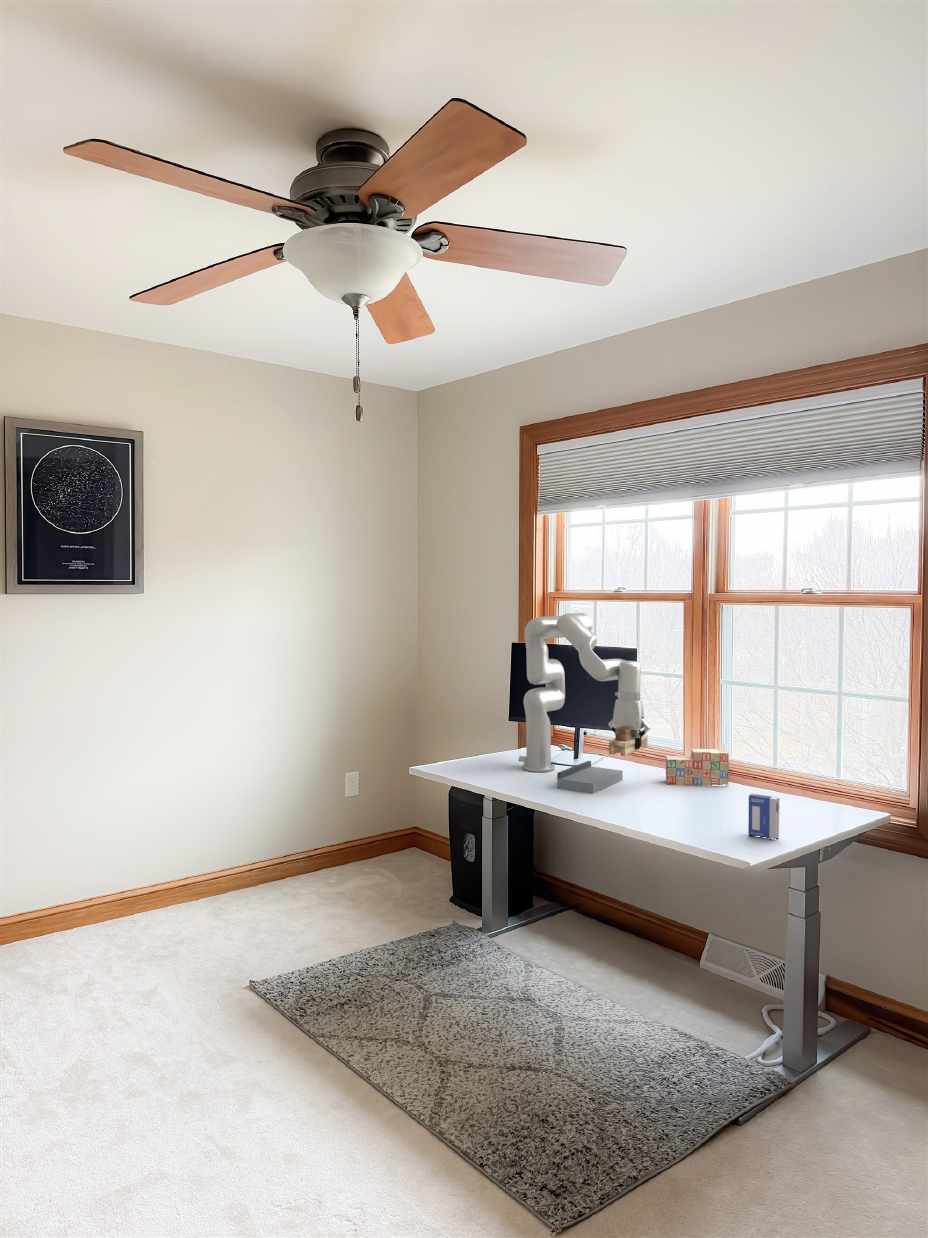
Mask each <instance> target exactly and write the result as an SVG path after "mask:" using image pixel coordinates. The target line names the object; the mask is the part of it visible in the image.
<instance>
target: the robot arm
mask: <svg viewBox="0 0 928 1238" xmlns="http://www.w3.org/2000/svg"><path fill="white" fill-rule="evenodd" d="M592 630H593V620H592V619H591V617H590V616H589V615H588V614H586V613H583V612H575V613H574V612H573V613H572V612H569V613H564V614H563V615H554V616H553V615H551V616H547V615H546V616H538V617H535V618H532V619H531V620H529V621H528V622H527V624H526V625H525V628H524V643H525V648H526V677H527V681H528V682H529V683H530V684H531V685H535V686H537V685H545V687H536V688H532V689H529V690H528V691H526V692H525V694H524V697H523V706H524V707H523V708H524V713H525V726H526V727H525V730H526V731H525V734H526V736H525V737H526V739H525V741H526V743H525V744H526V745H525V746H526V747H525V748H526V749H525V751H526V754H525V755H526V756H524V755H519V756H518V762H521V763H522V762H523V764H522V770H525V771H527V772H534V773H544V772H551V771H554V770H555V768H556V766H555V765H554V764H552V759H551V758H552V755H551V754H552V751H551V750H552V741H551V739H552V733H551V732H552V731H551V729H552V727H551V721H550V720H551V719H550V717H549V715H548V714H547V713H548V712H552V711H557V710H560V709H562V708H563V706H564V704H565V701H566V700H565V699H566V685H565V684H566V682H565V679H566V677H565V670H564V666H563V665H562V663H561V662H560V660H558V659H554V658H549V648H548V645H547V643H546V640H545V639H558V638H559V639H560V638H565V639H566V640H567V641H568V642H569V643H570V644H571V645H572V646H573V648H575V649H576V650H577V652H578V657H579V661H580V664H581V666H582V667H583V669H584V670H585V671H586V672H587V673H588V674H589V675H590V676H591V677H592V678H593V679H594V680H596V681H599V682H607V681H608V682H609V681H617V680H618V689H617V691H615V692H614V695H615V696H616V697H617V699H615V702H614V708H613V714H612V715H613V716H612V717H613V718H612V719H611V720H610V721H609V722H608V724H607V725H608V726H609V727H610V729H611V731H612V732H613V733H614V734H615V729H616V728H619V727H625V728H631V730H634V731H635V734H636V738H635V749H640V747H641V737H643V735H644V734H646V733H648V731H650V730H651V727H650V725H649V724H648V722H646V721H645V712H644V710H645V709H644V705H643V701H642V700H641V676H642V675H641V672H642V671H641V663H640V662H639V661H636V660H626V659H622V658H608V659H605V658H604V659H601V658H600V657H599V656H598V655H597V654H596V653H595V652H594V651H593V650H594V649H595V647H596V646H597V643H598V637H597V636H596V634H595V633H594V632H592ZM641 728H642V731H641Z"/></svg>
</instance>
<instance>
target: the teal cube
mask: <svg viewBox="0 0 928 1238" xmlns="http://www.w3.org/2000/svg"><path fill="white" fill-rule="evenodd" d="M641 731H643V728H641ZM631 737H636V734H635V731H634V730H631Z"/></svg>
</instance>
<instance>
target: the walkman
mask: <svg viewBox="0 0 928 1238" xmlns="http://www.w3.org/2000/svg"><path fill="white" fill-rule="evenodd" d="M747 828H748V834H749V835H752V836H751V837H753V836H760V837H766V838H773V839H776V838H778V837H779V838H780V797H778V796H772V795H764V794H757V793H750V794H749V795H748V827H747Z"/></svg>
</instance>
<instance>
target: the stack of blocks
mask: <svg viewBox="0 0 928 1238" xmlns="http://www.w3.org/2000/svg"><path fill="white" fill-rule="evenodd" d="M690 754H691V755H690V756H677V755H675V756H674V755H666V756H665V782H666V785H673V786H674V785H676V786H695V787H697V786H699V787H713V786H712V785H723V784H725V785H726V784H728V785H729V770H730V769H729V768H730V767H729V766H730V762H729V752H728V750H727V749H716V748H709V749H708V748H691V753H690ZM708 785H709V786H708ZM710 785H711V786H710Z"/></svg>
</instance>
